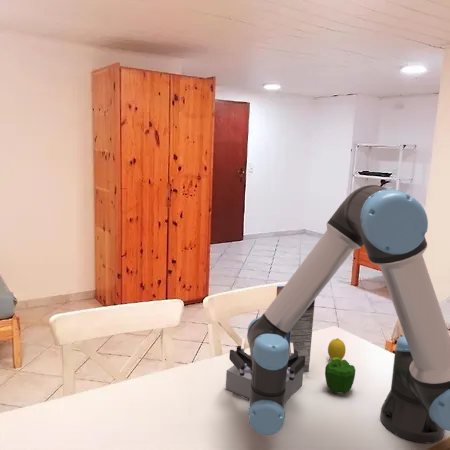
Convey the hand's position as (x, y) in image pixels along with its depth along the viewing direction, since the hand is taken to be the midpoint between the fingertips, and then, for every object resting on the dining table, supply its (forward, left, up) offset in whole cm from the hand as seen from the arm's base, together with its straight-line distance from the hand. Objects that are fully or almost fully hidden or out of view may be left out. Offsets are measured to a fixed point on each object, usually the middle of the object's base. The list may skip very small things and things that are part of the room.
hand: (267, 345), depth 128 cm
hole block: (-1, +2, -12) cm, 12 cm away
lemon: (-11, -27, -12) cm, 32 cm away
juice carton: (0, -16, -12) cm, 20 cm away
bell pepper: (-18, -11, -12) cm, 25 cm away
